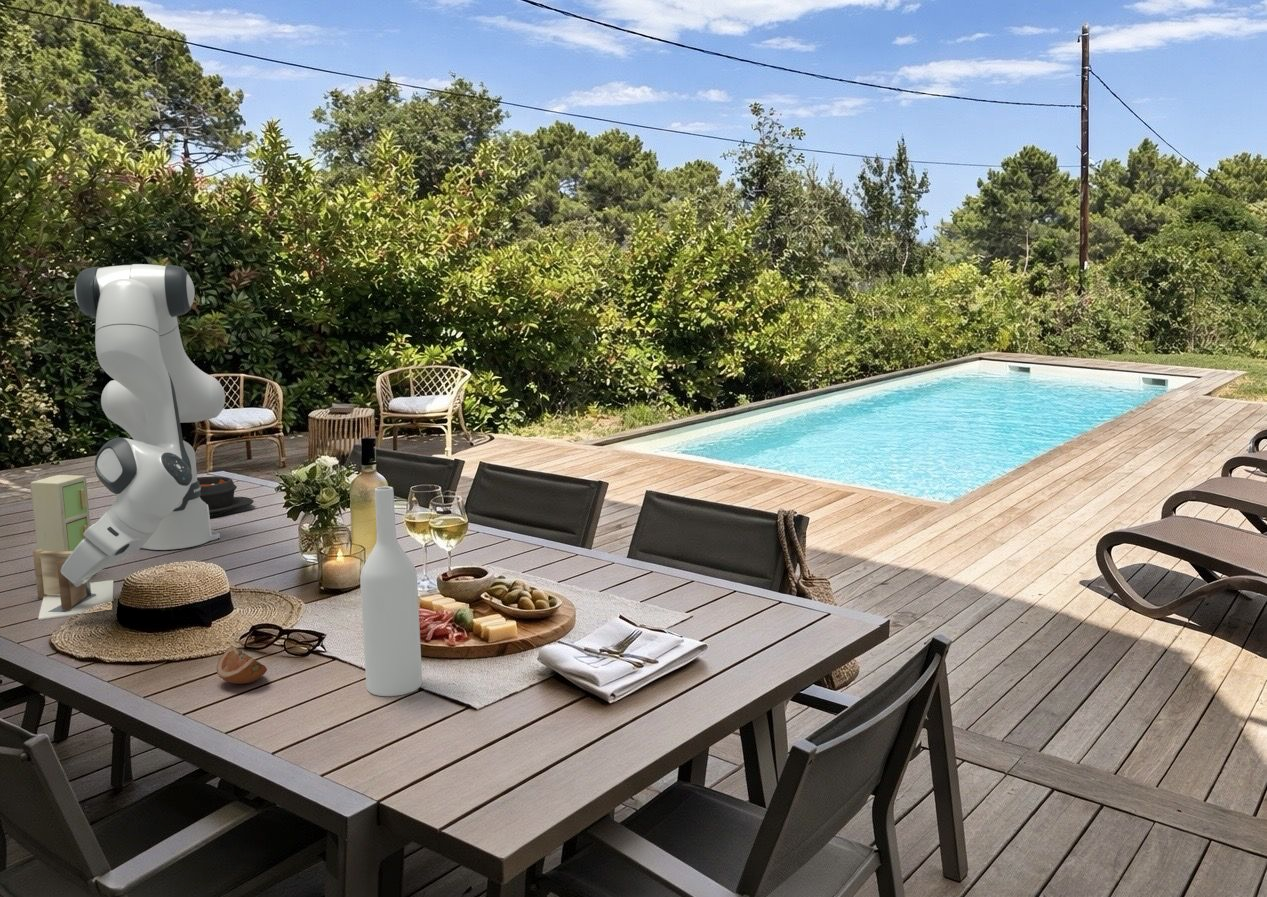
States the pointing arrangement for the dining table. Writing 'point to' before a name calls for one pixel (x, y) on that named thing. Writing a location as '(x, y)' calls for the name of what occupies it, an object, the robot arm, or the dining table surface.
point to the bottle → (390, 609)
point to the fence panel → (69, 590)
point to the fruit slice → (239, 667)
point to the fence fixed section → (50, 571)
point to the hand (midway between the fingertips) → (77, 582)
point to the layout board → (99, 595)
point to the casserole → (220, 494)
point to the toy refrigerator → (60, 511)
